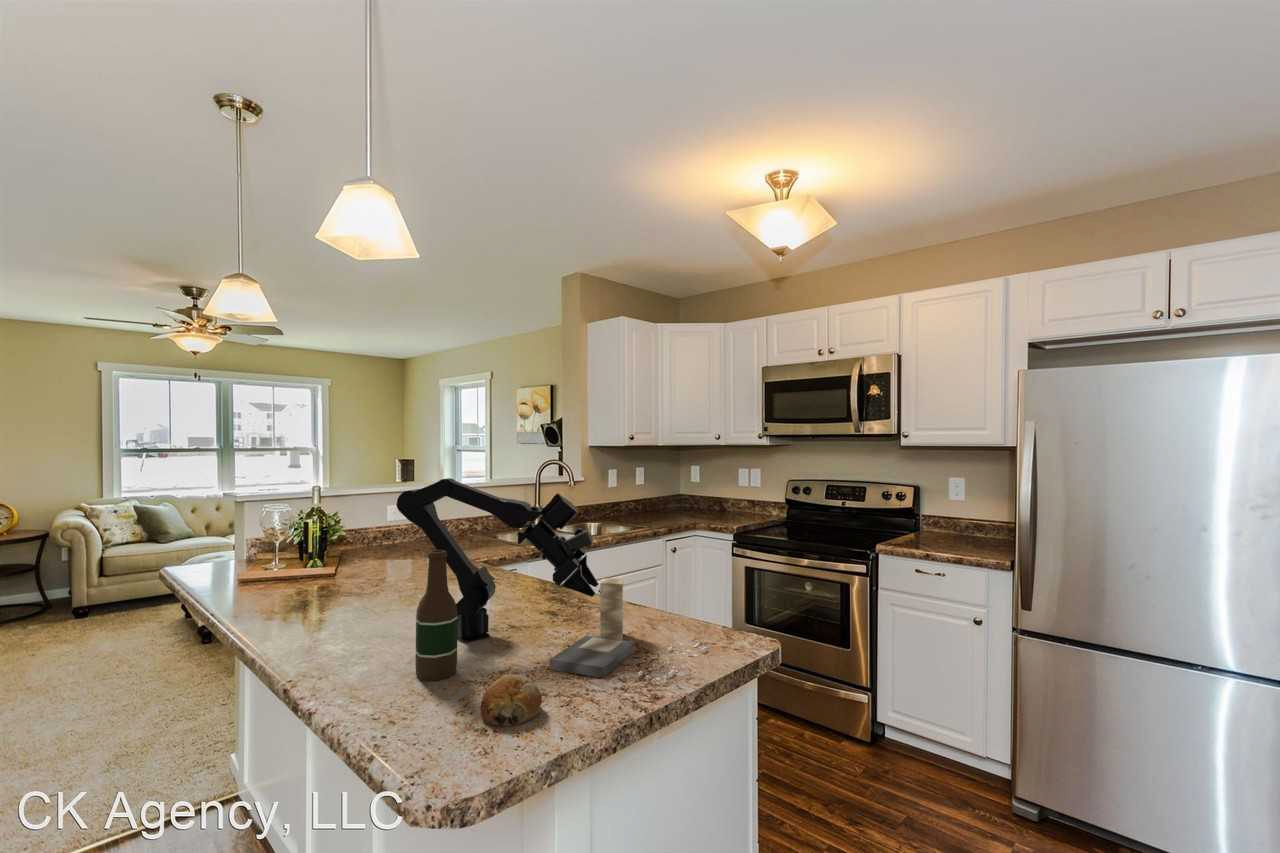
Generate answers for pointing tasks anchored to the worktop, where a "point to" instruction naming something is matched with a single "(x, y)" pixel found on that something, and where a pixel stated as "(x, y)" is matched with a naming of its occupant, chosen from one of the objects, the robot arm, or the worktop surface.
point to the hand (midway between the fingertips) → (595, 590)
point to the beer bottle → (436, 624)
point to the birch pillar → (611, 608)
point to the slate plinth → (593, 656)
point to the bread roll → (511, 701)
